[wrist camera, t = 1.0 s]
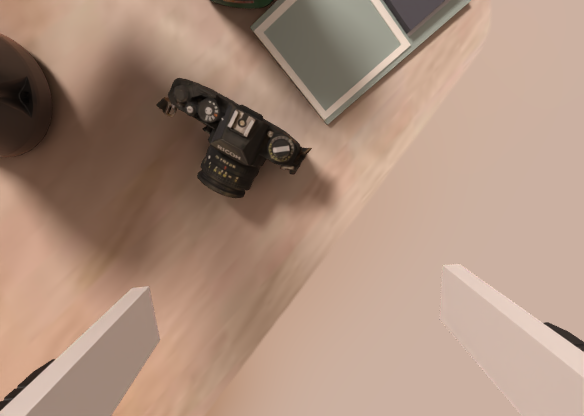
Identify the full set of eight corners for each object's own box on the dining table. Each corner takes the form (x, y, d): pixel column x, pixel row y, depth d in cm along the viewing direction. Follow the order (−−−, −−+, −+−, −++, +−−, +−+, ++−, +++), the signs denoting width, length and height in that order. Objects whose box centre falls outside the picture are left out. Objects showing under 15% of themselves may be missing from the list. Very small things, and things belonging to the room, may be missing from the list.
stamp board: (250, 28, 35) (249, 26, 34) (395, -112, 32) (397, -118, 31) (327, 124, 38) (327, 124, 37) (468, 2, 35) (472, -1, 34)
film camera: (171, 178, 39) (132, 189, 30) (181, 84, 37) (141, 62, 27) (298, 202, 40) (300, 221, 30) (316, 112, 38) (325, 100, 28)
